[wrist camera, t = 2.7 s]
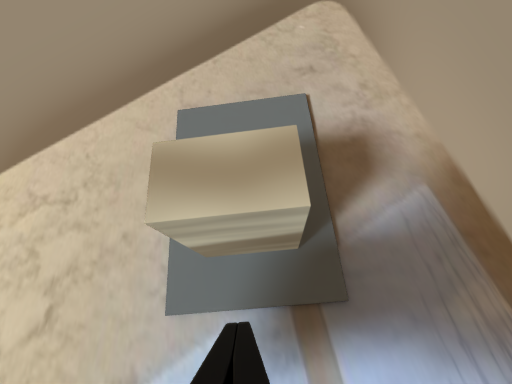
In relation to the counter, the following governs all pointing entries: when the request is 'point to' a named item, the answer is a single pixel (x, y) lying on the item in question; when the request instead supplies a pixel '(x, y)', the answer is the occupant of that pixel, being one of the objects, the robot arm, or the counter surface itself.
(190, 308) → the rubber mat
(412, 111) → the counter surface
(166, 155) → the beige block
